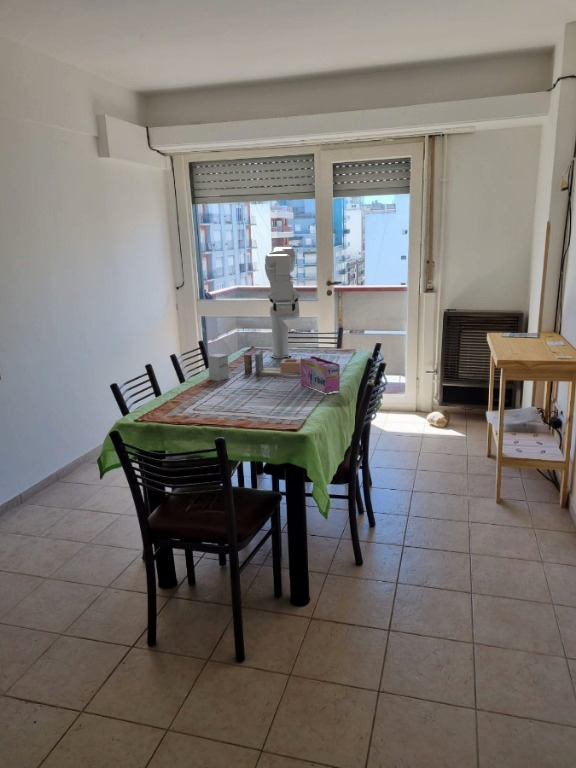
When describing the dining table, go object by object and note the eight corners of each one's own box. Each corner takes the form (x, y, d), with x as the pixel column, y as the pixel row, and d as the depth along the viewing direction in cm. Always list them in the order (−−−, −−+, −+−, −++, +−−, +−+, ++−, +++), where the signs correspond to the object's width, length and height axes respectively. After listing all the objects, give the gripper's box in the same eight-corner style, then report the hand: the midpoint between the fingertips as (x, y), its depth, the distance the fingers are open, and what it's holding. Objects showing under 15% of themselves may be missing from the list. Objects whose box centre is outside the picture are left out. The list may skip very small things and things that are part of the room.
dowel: (245, 372, 303) (244, 354, 300) (252, 372, 302) (252, 354, 300) (244, 373, 299) (243, 355, 296) (251, 373, 298) (250, 355, 296)
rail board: (257, 370, 306) (257, 367, 305) (308, 370, 302) (308, 368, 302) (253, 375, 294) (253, 373, 294) (307, 376, 291) (307, 373, 291)
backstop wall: (259, 370, 306) (258, 349, 303) (263, 370, 305) (262, 349, 302) (255, 375, 294) (255, 354, 291) (259, 375, 294) (258, 354, 291)
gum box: (299, 384, 276) (298, 357, 272) (312, 382, 279) (312, 355, 276) (326, 395, 256) (325, 366, 252) (340, 393, 259) (340, 364, 256)
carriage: (282, 367, 303) (282, 358, 301) (301, 368, 302) (301, 358, 300) (280, 372, 293) (280, 363, 292) (299, 372, 292) (299, 363, 291)
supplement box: (219, 381, 284) (218, 357, 281) (208, 379, 289) (207, 355, 286) (229, 378, 290) (228, 354, 287) (218, 376, 294) (217, 352, 291)
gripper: (300, 278, 300) (301, 310, 304) (268, 278, 302) (269, 310, 306) (298, 278, 293) (299, 311, 296) (266, 279, 295) (267, 312, 299)
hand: (284, 311), depth 301 cm, fingers open, 9 cm apart
